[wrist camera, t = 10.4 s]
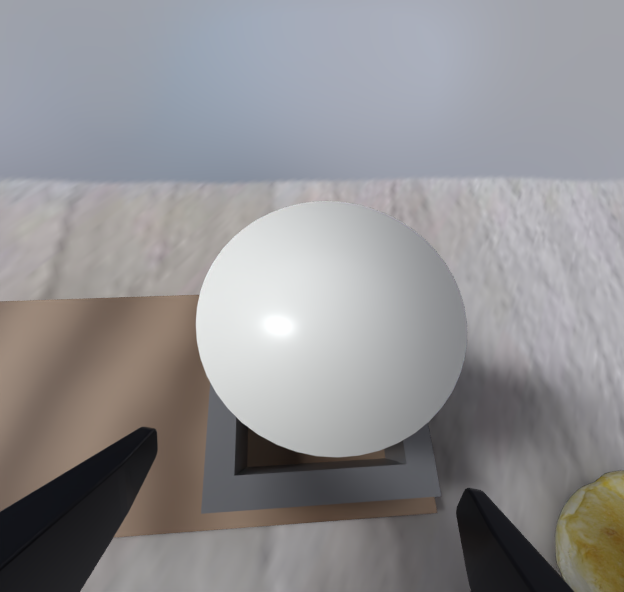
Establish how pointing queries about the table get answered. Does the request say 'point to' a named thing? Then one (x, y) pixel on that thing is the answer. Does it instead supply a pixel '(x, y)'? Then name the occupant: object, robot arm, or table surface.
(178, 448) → the board
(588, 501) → the bread roll
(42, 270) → the table surface
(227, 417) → the socket collar
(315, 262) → the white capped cylinder
